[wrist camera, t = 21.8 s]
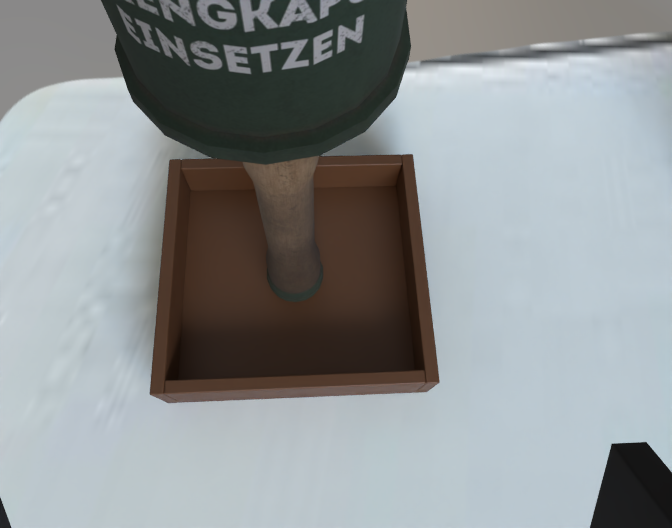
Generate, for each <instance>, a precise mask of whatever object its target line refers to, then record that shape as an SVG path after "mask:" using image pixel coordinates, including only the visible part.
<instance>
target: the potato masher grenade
mask: <svg viewBox="0 0 672 528" xmlns="http://www.w3.org/2000/svg"><path fill="white" fill-rule="evenodd" d="M101 1H102V3H103V6H104V8H105V10H106V12H107V14H108V16H109V18H110V21H111V23H112V25H113V27H114V29H115V32H116V34H117V38H116V44H115V52H116V55H117V58H118V61H119V64H120V67H121V70H122V73H123V76H124V79H125V82H126V85H127V88H128V91H129V93H130V95H131V98H132V100H133V102H134V103H135V104H136V105H137V106H138V107H139V108H140V109H141V110H142V111H143V112H144V114H145V115H146V116H147V117H148V118H149V119H150V120H151V121H152V122H153V123H154V124H155V125H156V126H157V127H158V128H159V129H160V130H161V131H162V133H163V134H164V135H165V136H167V137H169V138H172V139H174V140H176V141H178V142H180V143H182V144H184V145H186V146H188V147H190V148H192V149H194V150H196V151H199V152H201V153H203V154H205V155H207V156H209V157H211V158H217V159H225V160H233V161H240V162H243V166H244V168H245V170H246V171H247V173H248V174H249V176H250V177H251V179H252V180H253V183H254V188H255V192H256V196H257V201H258V205H259V209H260V214H261V218H262V222H263V227H264V231H265V235H266V240H267V244H268V249H267V252H266V263H267V280H268V283H269V285H270V288H271V290H272V291H273V292H274V293H275V294H276V295H277V296H278V297H280V298H282V299H284V300H286V301H291V302H299V301H304V300H307V299H308V298H310V297H312V296H313V295H314V294H315V293H316V292H317V291H318V290H319V288H320V286H321V283H322V280H323V266H322V264H321V261H320V251H319V248H318V246H317V244H316V242H315V230H314V180H313V174H314V171H315V169H316V166H317V163H318V159H319V156H320V155H322V154H323V153H325V152H327V151H329V150H331V149H333V148H335V147H337V146H339V145H341V144H343V143H345V142H346V141H348V140H350V139H352V138H354V137H356V136H358V135H360V134H362V133H364V132H365V131H366V130H367V129H368V128H369V127H370V126H371V125H372V123H373V122H374V121H375V120H376V119H377V118H378V117H379V116H380V115H381V113H382V112H383V111H384V110H385V109H386V108H387V107H388V106H389V105H390V103H391V102H392V101H393V100H394V99H395V98H396V96H397V93H398V90H399V86H400V83H401V80H402V77H403V74H404V71H405V68H406V65H407V62H408V60H409V55H410V49H411V43H410V35H409V27H408V19H407V12H406V4H407V0H101Z"/></svg>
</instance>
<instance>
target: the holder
mask: <svg viewBox="0 0 672 528" xmlns="http://www.w3.org/2000/svg"><path fill="white" fill-rule="evenodd" d="M313 180H314V230H315V242H316V244H317V246H318V248H319V251H320V261H321V264H322V266H323V280H322V283H321V286H320V288H319V290H318V291H317V292H316V293H315V294H314V295H313V296H312V297H310V298H308V299H307V300H304V301H299V302H291V301H286V300H284V299H282V298H280V297H278V296H277V295H276V294H275V293H274V292H273V291H272V290H271V288H270V285H269V283H268V280H267V263H266V252H267V249H268V244H267V240H266V235H265V231H264V227H263V222H262V218H261V214H260V209H259V205H258V201H257V196H256V192H255V188H254V183H253V180H252V179H251V177H250V176H249V174H248V173H247V171H246V170H245V168H244V166H243V162H240V161H233V160H225V159H182V160H181V159H172V160H170V162H169V174H168V185H167V197H166V209H165V221H164V232H163V244H162V256H161V268H160V279H159V291H158V303H157V315H156V327H155V338H154V350H153V362H152V374H151V385H150V395H152V396H154V397H156V398H159V399H161V400H163V401H165V402H167V403H177V402H200V401H224V400H247V399H271V398H294V397H318V396H342V395H365V394H389V393H412V392H427V391H429V390H430V389H431V388H432V387H434V386H435V385H437V384H438V383H439V374H438V365H437V357H436V348H435V340H434V331H433V322H432V314H431V305H430V297H429V288H428V280H427V271H426V263H425V254H424V246H423V237H422V229H421V220H420V212H419V203H418V195H417V186H416V178H415V169H414V161H413V155H412V154H406V155H362V156H319V159H318V163H317V166H316V169H315V171H314V174H313Z"/></svg>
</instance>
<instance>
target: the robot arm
mask: <svg viewBox="0 0 672 528" xmlns="http://www.w3.org/2000/svg"><path fill="white" fill-rule="evenodd" d="M0 528H11V526H10V523H9V520H8V517H7V515H6V512H5V509H4V506H3V504H2V501H1V498H0ZM590 528H672V472H671V471H670V470H669V469H668V467H667V466H666V465H665V464H664V463H663V461H662V460H661V459H660V458H659V457H658V456H657V454H656V453H655V452H654V451H653V450H652V448H651V447H650V446H649V445H648V444H647V442H641V443H618V444H612V446H611V449H610V453H609V457H608V461H607V465H606V468H605V472H604V476H603V480H602V484H601V488H600V491H599V495H598V499H597V503H596V507H595V510H594V514H593V518H592V522H591V526H590Z"/></svg>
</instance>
